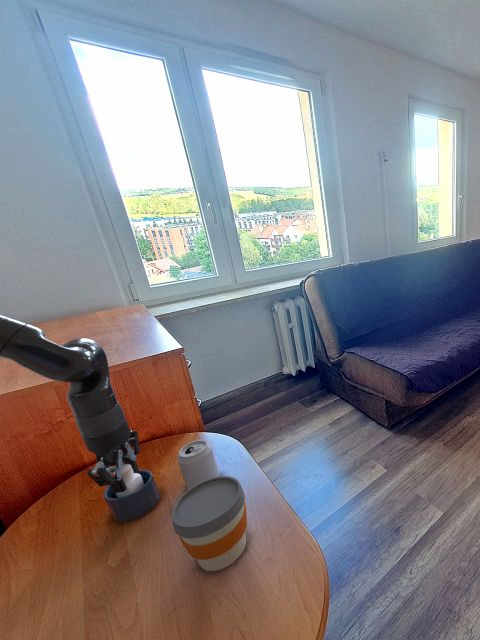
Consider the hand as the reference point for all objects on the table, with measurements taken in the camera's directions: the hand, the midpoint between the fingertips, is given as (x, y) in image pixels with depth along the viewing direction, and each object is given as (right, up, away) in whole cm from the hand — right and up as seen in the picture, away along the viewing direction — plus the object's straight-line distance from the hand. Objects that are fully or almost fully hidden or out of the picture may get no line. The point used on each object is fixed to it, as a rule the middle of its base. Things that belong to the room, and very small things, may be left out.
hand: (127, 482), depth 80 cm
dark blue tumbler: (0, -7, +3) cm, 8 cm away
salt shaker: (0, -5, +2) cm, 6 cm away
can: (+12, -5, +9) cm, 16 cm away
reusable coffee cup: (+28, -11, -7) cm, 31 cm away
